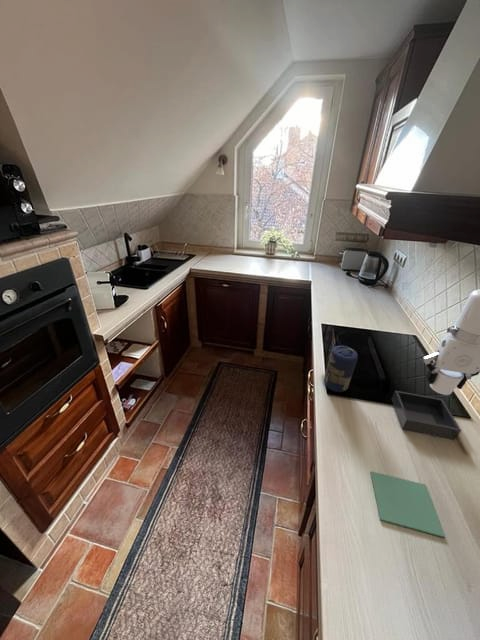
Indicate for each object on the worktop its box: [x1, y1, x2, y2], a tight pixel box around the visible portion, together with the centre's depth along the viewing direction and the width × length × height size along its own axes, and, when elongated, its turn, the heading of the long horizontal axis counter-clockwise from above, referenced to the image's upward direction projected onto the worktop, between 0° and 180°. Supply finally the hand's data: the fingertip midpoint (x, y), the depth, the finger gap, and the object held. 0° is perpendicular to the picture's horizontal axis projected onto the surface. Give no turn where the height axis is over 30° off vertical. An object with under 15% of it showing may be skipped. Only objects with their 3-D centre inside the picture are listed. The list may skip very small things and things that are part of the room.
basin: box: [390, 390, 462, 441], centre depth 88 cm, size 16×14×5 cm
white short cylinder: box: [429, 366, 464, 396], centre depth 77 cm, size 7×7×7 cm
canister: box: [323, 345, 359, 393], centre depth 98 cm, size 10×10×18 cm
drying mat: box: [370, 471, 446, 539], centre depth 66 cm, size 14×12×1 cm
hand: (443, 383), depth 78 cm, fingers closed on white short cylinder, 6 cm apart
